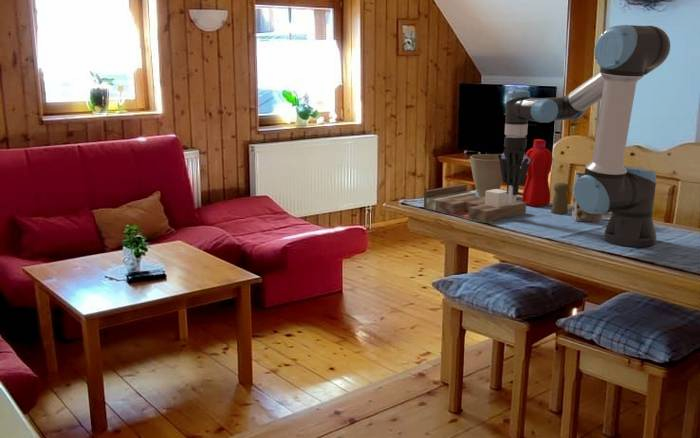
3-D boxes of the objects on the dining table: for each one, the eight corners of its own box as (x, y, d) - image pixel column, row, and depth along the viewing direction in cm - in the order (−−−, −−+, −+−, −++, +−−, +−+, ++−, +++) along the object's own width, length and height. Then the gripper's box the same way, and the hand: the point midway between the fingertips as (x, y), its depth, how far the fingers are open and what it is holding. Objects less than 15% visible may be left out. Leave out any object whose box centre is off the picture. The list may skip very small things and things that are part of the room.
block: (508, 205, 253) (509, 191, 252) (498, 207, 249) (498, 193, 248) (495, 202, 258) (496, 188, 256) (484, 204, 254) (485, 190, 253)
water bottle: (556, 205, 272) (561, 139, 266) (534, 208, 267) (538, 141, 261) (540, 200, 280) (544, 137, 274) (518, 203, 275) (522, 138, 269)
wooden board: (525, 213, 258) (526, 196, 256) (485, 222, 244) (486, 204, 243) (463, 200, 280) (463, 183, 279) (423, 207, 267) (424, 190, 265)
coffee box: (575, 221, 246) (578, 175, 242) (571, 217, 252) (574, 172, 249) (602, 222, 245) (606, 176, 242) (597, 217, 251) (601, 173, 248)
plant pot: (462, 193, 293) (463, 155, 289) (494, 191, 297) (496, 153, 294) (479, 200, 279) (481, 160, 275) (513, 198, 283) (515, 158, 280)
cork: (571, 213, 258) (573, 183, 255) (557, 215, 255) (560, 185, 253) (561, 210, 263) (563, 181, 261) (547, 211, 261) (549, 182, 258)
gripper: (538, 137, 240) (533, 205, 246) (507, 133, 250) (503, 199, 255) (524, 139, 235) (520, 208, 241) (493, 135, 245) (490, 201, 251)
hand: (511, 203), depth 248 cm, fingers closed
